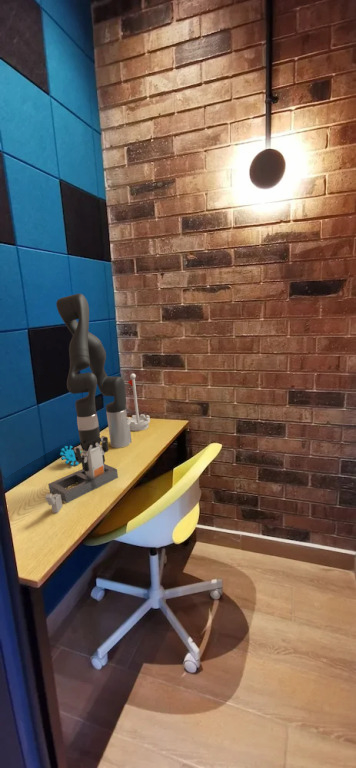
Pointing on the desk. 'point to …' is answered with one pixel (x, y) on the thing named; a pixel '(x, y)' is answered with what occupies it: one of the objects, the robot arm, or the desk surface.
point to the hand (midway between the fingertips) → (94, 467)
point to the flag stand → (137, 421)
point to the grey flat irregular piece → (54, 502)
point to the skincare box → (94, 462)
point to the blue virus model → (69, 455)
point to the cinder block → (81, 483)
